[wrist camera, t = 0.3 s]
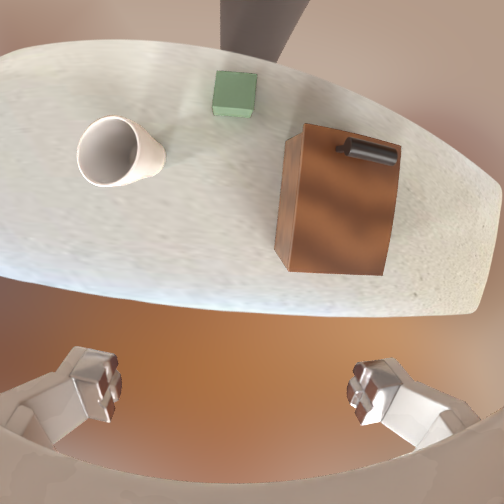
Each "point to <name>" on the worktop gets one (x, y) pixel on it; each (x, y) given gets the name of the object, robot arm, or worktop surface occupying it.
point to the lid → (343, 203)
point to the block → (234, 94)
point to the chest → (288, 197)
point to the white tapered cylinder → (118, 152)
